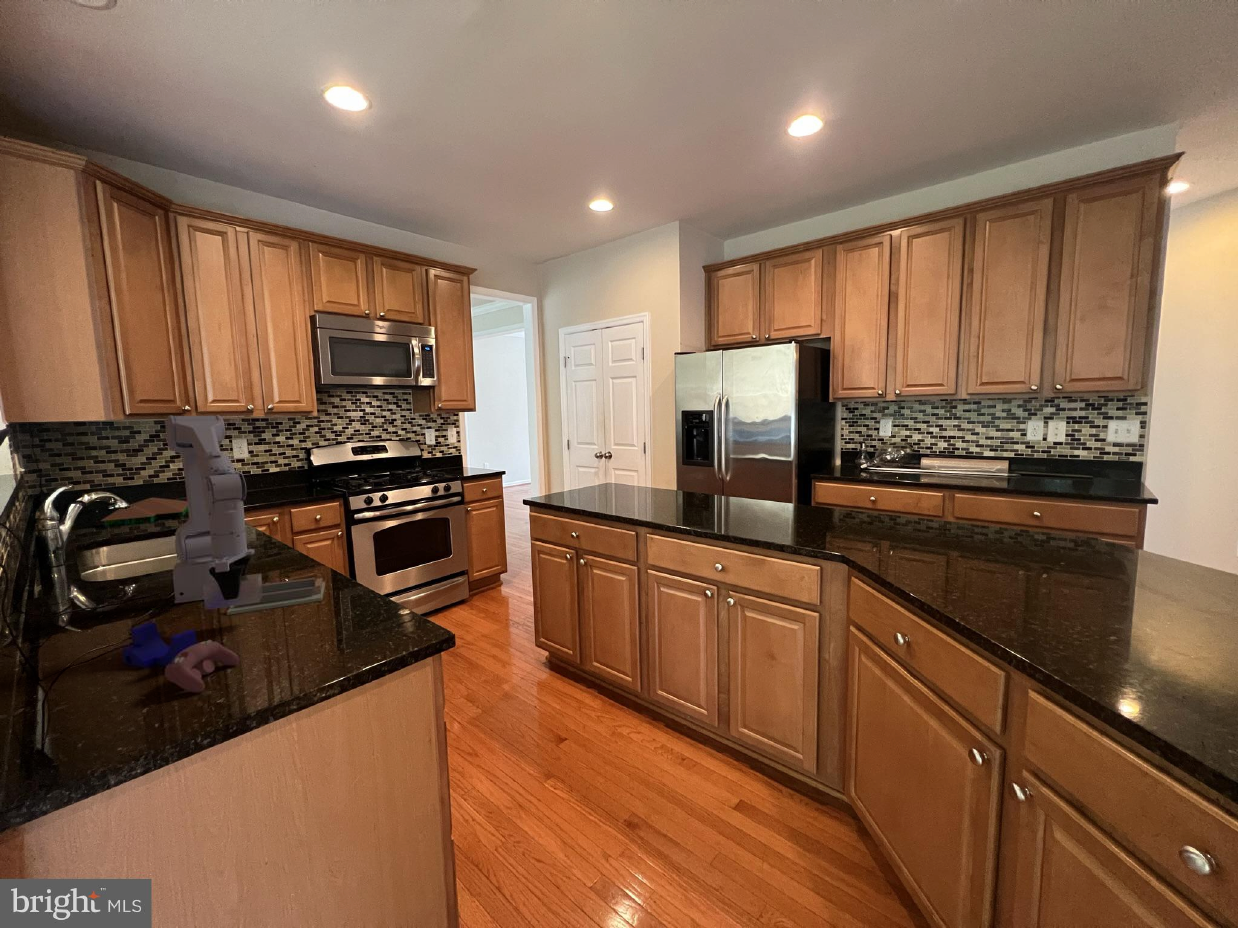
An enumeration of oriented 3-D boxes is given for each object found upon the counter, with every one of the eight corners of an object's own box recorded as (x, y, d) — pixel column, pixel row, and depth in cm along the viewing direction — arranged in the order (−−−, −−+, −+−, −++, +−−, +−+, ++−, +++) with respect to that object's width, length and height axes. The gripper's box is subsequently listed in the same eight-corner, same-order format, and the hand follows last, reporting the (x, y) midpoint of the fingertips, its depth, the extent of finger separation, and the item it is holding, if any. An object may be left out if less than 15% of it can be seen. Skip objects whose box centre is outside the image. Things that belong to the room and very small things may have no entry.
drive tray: (227, 615, 109) (226, 602, 108) (239, 596, 119) (238, 585, 119) (321, 600, 117) (320, 589, 117) (325, 584, 128) (324, 574, 127)
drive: (205, 609, 100) (202, 586, 99) (210, 602, 103) (208, 579, 103) (259, 602, 104) (257, 579, 103) (262, 595, 107) (261, 573, 107)
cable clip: (124, 664, 88) (120, 632, 88) (154, 652, 93) (150, 621, 92) (169, 675, 85) (165, 642, 84) (198, 662, 89) (195, 630, 88)
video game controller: (220, 671, 88) (198, 639, 87) (244, 660, 89) (222, 627, 88) (177, 704, 79) (151, 668, 78) (203, 691, 79) (178, 655, 78)
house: (193, 507, 227) (192, 490, 226) (181, 521, 199) (179, 501, 198) (124, 513, 214) (122, 495, 213) (101, 529, 187) (98, 508, 186)
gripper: (244, 537, 97) (250, 603, 99) (258, 522, 110) (263, 580, 111) (198, 542, 94) (205, 610, 95) (218, 525, 107) (224, 585, 108)
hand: (233, 594), depth 103 cm, fingers closed on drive, 4 cm apart
